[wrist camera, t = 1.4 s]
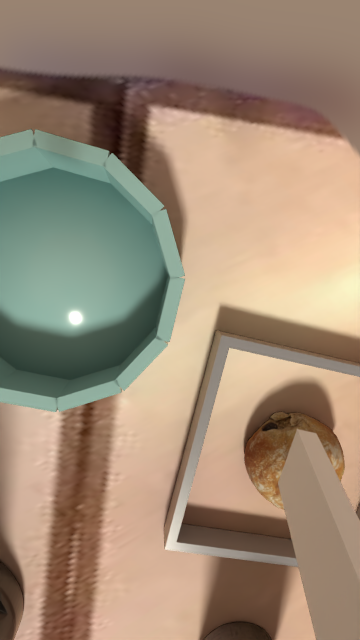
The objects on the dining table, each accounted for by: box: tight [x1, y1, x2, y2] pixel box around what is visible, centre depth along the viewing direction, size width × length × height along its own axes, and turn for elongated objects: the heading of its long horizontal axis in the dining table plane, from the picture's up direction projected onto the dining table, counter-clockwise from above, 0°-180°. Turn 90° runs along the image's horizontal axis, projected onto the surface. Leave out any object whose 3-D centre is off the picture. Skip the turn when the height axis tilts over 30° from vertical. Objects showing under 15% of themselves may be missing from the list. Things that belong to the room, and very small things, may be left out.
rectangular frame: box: [164, 330, 360, 567], centre depth 33 cm, size 23×23×2 cm
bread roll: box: [244, 411, 345, 509], centre depth 32 cm, size 10×10×8 cm
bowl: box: [0, 129, 185, 412], centre depth 26 cm, size 21×21×5 cm
